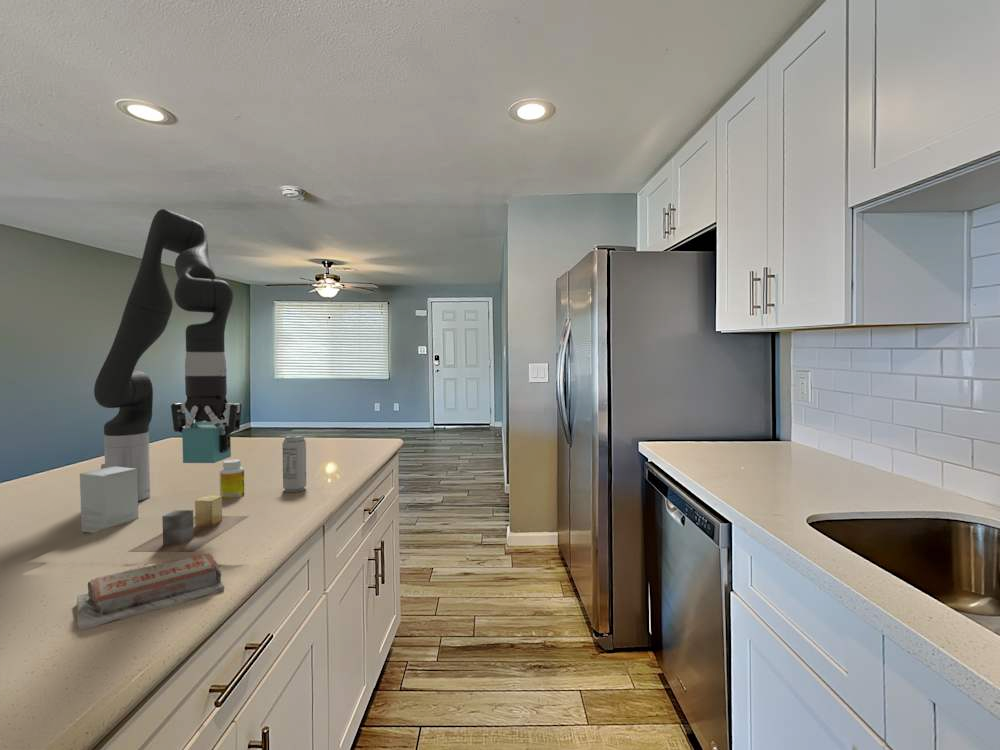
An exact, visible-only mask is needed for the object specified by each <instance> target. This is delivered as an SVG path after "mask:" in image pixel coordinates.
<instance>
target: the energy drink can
mask: <svg viewBox="0 0 1000 750" xmlns="http://www.w3.org/2000/svg"><path fill="white" fill-rule="evenodd" d="M305 487H307V442H306V440H305V437H304V435H302V434H292V435H291V434H290V435H286V436H284V440H283V441H282V488H283V489H284V490H285V492H287V493H298V491H299V492H302V491H304V490H305Z"/></svg>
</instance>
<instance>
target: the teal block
mask: <svg viewBox="0 0 1000 750" xmlns="http://www.w3.org/2000/svg"><path fill="white" fill-rule="evenodd" d="M220 435H221V434H220V433H219V428H217V427H216V426H214V425H213V424H199V425H198V426H194V427H192V428H186V429H182V433H181V436H182V437H181V438H182V463H183V464H216V463H218V462H220V461H221V462H222V461H223V460H226V459H229V458H230V457H232V448H231V447H232V445H231V444H232V443H231V440H232V439H231V438H230V449H228V451H227V452H224V453H220V446H219V436H220Z"/></svg>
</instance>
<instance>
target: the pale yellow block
mask: <svg viewBox="0 0 1000 750" xmlns="http://www.w3.org/2000/svg"><path fill="white" fill-rule="evenodd" d="M194 514H195V515H194V516H195V526H206V527H213V526H214V525H216V524H218V523H219V522H221V521H222V516H223V497H222V496H220V495H204V496H201V497H200V498H198V499H195V500H194Z"/></svg>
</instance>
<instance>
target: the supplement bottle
mask: <svg viewBox="0 0 1000 750" xmlns="http://www.w3.org/2000/svg"><path fill="white" fill-rule="evenodd" d="M241 464H242V463H241V460H240V459H236V458H234V459H227V460H226V459H225V460H224V461H223V462H222V468H221V469H220V470H219V496H222V498H225V499H226V498H237V497H238V498H240V497H241V498H244V497H245V468H244V467H243V466H241Z"/></svg>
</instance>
